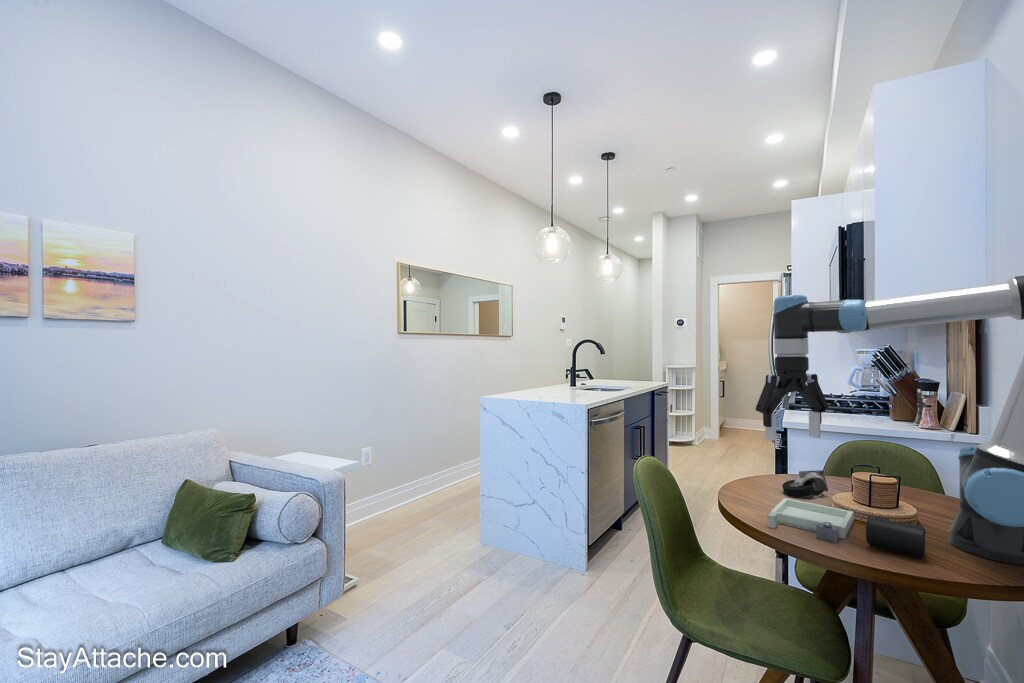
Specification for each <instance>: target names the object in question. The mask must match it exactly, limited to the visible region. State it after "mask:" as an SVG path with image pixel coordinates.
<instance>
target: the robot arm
mask: <svg viewBox="0 0 1024 683" xmlns="http://www.w3.org/2000/svg"><path fill="white" fill-rule="evenodd" d="M772 317H773V335H774V336H773V337H774V338H773V339H774V340H773V341H774V342H773V344H774V345H773V346H774V354H775V355H776V356H775V358H774V369H775V371H776V374H774V375H773V374H766V375H765V382H764V386H763V388H762V391H761V394H760V396H759V398H758V401H757V403H756V406H755V411H756V412H759V413H760V414H762V424H763V427H764V428H765V429H764V432H765V433H764V434H765V435H764V436H765V440H767V441H768V440H769V441H772V442H777V422H776V421H777V419H776V418H777V417H776V414H774V412H775V410H776V409H777V408H778V406H779V405H780V403H781V401H782V400H783V399H784V397H785V396H786V395H787V394H788V393H795V392H796V393H798V394H799V396H801V398H802V399H803V401H804V402H805V403H806V404H807V406H808V407H809V408H810V410H809V411H808V431H809V432H808V437H812V438H816V439H821V425H822V422H823V421H822V420H823V419H822V418H823V417H822V413H825V412H826V410H828V409H829V405H828V402H827V399H826V397H825V395H824V393H823V390H822V389H821V385H820V384H819V380H818V378H819V377H818V375H817V373H807V372H808V371H809V368H810V366H809V364H810V360H809V357H808V356H807V355H808V354H809V336H808V335H809V333H816V332H817V333H819V332H820V333H824V332H825V333H826V332H831V333H832V332H836V333H840V334H851V333H853V332H863V331H870V330H872V331H873V330H880V329H881V330H883V329H890V328H891V329H893V328H900V327H901V328H902V327H914V326H921V325H922V326H923V325H933V324H934V325H935V324H942V323H954V322H955V323H956V322H962V321H965V322H966V321H975V320H985V319H995V318H1004V317H1005V318H1006V317H1011V318H1012V319H1015V320H1017V321H1021V320H1024V275H1018V276H1011V277H1010V278H1008V280H1006V281H1005V282H1001V283H994V284H985V285H977V286H971V287H964V288H963V287H962V288H955V289H949V290H948V289H947V290H941V291H932V292H924V293H917V294H910V295H904V296H902V295H901V296H896V297H895V296H893V297H888V298H881V299H874V300H873V299H872V300H866V301H865V300H864V299H848V298H847V299H843V300H842V299H841V300H840V299H839V300H830V301H829V300H827V301H818V302H817V301H816V302H815V301H813V302H812V301H810V302H809V300H808V297H807V296H806V295H804V294H793V295H792V294H790V295H782V296H778V297H776V298H775V299H774V302H773V314H772ZM1014 377H1015V378H1014V380H1013V382H1012V384H1011V387H1010V390H1009V393H1008V396H1007V398H1006V400H1005V403H1004V405H1003V407H1002V412H1001V414H1000V416H999V418H998V421H997V424H996V426H995V428H994V432H993V433H992V436H991V439H990V440H989V441H987V442H984V443H981V444H978V445H977V446H975V445H974V446H973V445H972V446H971V445H963V446H962V447H960V448H959V455H958V457H957V458H958V460H959V462H958V463H959V471H958V472H959V508H958V512H957V515H956V516H955V519H954V521H953V522H952V525H951V526H950V529H949V538H948V541H949V542H950V544H952V545H953V546H954V547H956V548H958V549H960V550H962V551H964V552H967V553H968V554H969V553H970V554H972V555H975V556H978V557H982V558H986V559H989V560H993V561H998V562H1001V563H1007V564H1013V565H1014V564H1015V565H1021V566H1023V565H1024V355H1023V357H1022V359H1021V362H1020V365H1019V367H1018V370H1017V372H1016V375H1015V376H1014Z"/></svg>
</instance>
